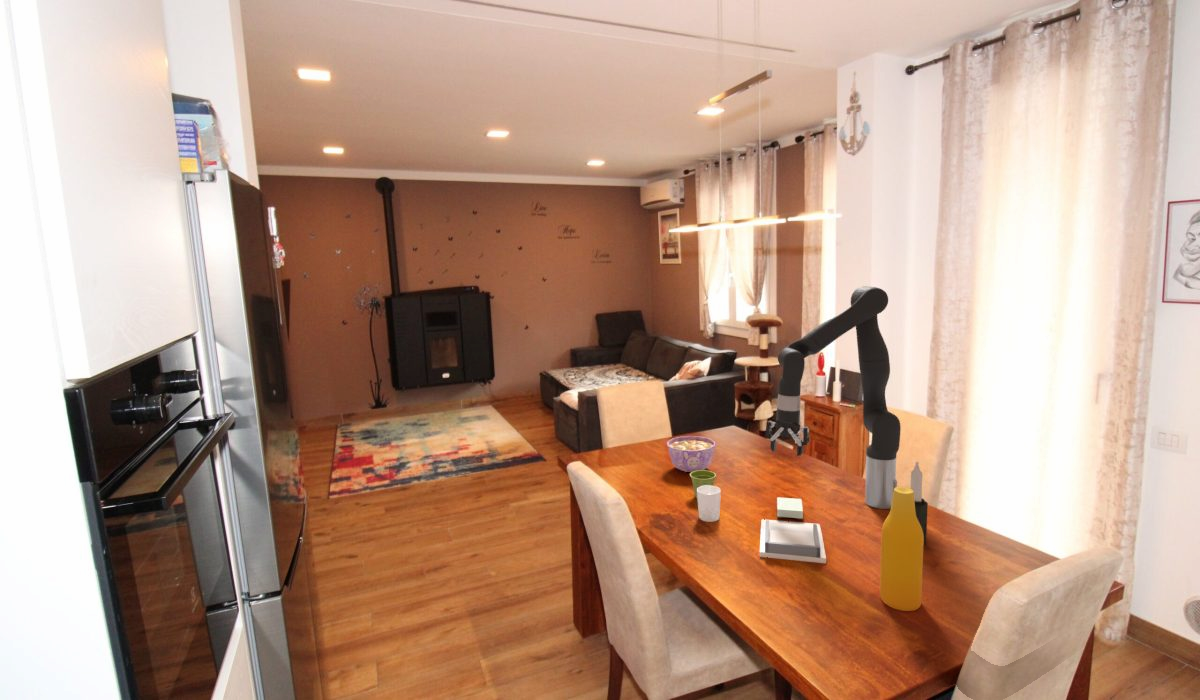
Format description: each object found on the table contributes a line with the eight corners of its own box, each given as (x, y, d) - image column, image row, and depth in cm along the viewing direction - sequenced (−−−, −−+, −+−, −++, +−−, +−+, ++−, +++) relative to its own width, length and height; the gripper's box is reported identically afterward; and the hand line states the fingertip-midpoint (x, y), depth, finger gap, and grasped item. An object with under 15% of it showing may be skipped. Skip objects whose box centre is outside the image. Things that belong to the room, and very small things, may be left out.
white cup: (694, 513, 195) (694, 486, 194) (717, 511, 196) (716, 484, 194) (700, 523, 188) (700, 495, 186) (724, 521, 188) (723, 493, 187)
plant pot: (690, 491, 214) (689, 469, 213) (715, 491, 213) (715, 469, 212) (690, 502, 205) (690, 479, 204) (717, 502, 204) (716, 479, 202)
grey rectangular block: (801, 508, 195) (801, 499, 195) (802, 521, 186) (802, 511, 185) (777, 506, 198) (777, 497, 197) (777, 519, 188) (777, 509, 188)
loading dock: (819, 526, 184) (819, 510, 183) (825, 566, 160) (826, 548, 159) (761, 522, 189) (761, 506, 188) (759, 559, 165) (759, 542, 164)
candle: (917, 548, 166) (919, 466, 162) (900, 540, 170) (903, 461, 166) (927, 543, 168) (931, 462, 164) (911, 536, 172) (914, 457, 169)
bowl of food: (695, 482, 223) (694, 454, 221) (657, 470, 238) (656, 443, 236) (725, 468, 236) (725, 442, 234) (688, 458, 251) (687, 433, 249)
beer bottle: (903, 616, 135) (907, 500, 131) (871, 596, 143) (873, 487, 139) (930, 605, 138) (934, 492, 134) (897, 587, 147) (900, 480, 143)
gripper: (813, 408, 191) (810, 454, 193) (771, 402, 199) (769, 446, 201) (806, 412, 184) (804, 460, 187) (764, 406, 193) (762, 452, 195)
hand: (786, 453), depth 194 cm, fingers open, 8 cm apart
